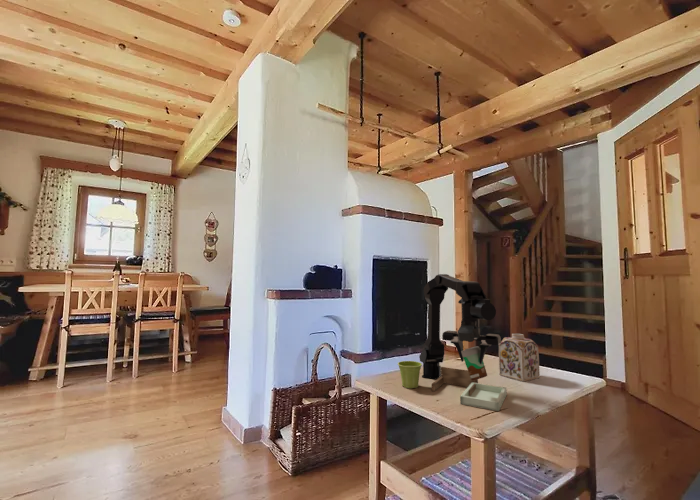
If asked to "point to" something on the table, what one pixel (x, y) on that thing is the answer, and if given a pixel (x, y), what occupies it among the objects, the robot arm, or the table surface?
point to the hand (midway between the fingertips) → (471, 362)
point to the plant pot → (410, 373)
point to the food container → (474, 363)
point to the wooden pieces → (454, 379)
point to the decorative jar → (519, 358)
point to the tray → (484, 396)
